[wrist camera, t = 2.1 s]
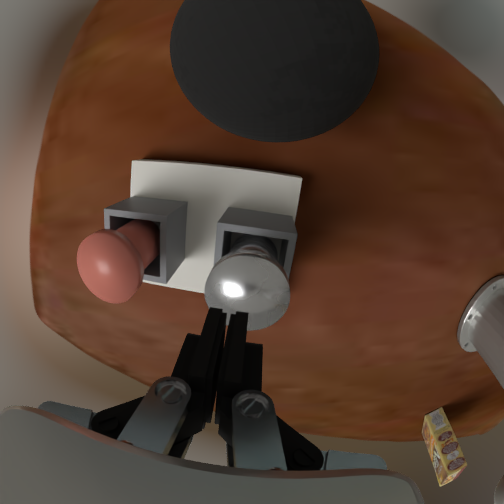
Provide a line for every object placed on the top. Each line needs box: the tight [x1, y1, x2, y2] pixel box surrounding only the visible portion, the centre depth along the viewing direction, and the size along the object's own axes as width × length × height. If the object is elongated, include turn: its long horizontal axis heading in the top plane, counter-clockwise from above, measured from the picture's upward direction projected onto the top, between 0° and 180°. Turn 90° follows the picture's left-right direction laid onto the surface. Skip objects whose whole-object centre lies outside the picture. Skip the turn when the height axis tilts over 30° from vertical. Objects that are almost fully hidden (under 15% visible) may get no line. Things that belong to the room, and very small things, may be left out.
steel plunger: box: [204, 234, 290, 330], centre depth 18 cm, size 5×5×6 cm
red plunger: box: [77, 219, 160, 303], centre depth 18 cm, size 5×5×6 cm
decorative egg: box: [170, 0, 379, 142], centre depth 13 cm, size 12×12×15 cm
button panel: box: [104, 159, 302, 293], centre depth 22 cm, size 15×12×7 cm
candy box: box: [422, 407, 467, 486], centre depth 30 cm, size 9×4×15 cm, turn 23°
